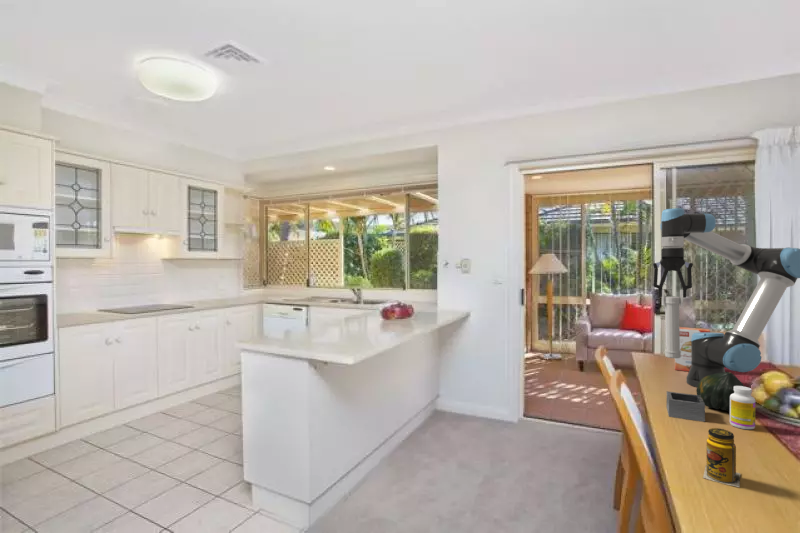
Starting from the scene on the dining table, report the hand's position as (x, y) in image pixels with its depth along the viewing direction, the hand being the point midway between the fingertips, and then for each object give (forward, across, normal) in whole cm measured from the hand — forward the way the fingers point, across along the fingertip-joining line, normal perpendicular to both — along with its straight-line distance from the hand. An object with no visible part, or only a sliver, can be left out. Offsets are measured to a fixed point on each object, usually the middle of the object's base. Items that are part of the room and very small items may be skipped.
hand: (672, 305), depth 169 cm
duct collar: (+37, +2, -20) cm, 42 cm away
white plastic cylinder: (+21, 0, 0) cm, 21 cm away
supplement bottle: (+37, +18, -24) cm, 48 cm away
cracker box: (+37, +12, +48) cm, 62 cm away
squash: (+37, +15, -7) cm, 41 cm away
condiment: (+37, +6, -66) cm, 76 cm away
